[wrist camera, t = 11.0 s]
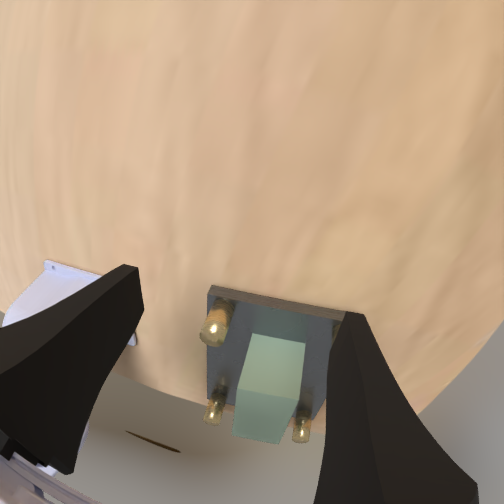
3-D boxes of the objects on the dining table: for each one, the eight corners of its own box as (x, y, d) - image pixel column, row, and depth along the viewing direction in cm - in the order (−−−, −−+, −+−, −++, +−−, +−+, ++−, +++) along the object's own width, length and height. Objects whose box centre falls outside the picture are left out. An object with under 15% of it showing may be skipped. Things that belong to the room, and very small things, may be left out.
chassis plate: (210, 391, 31) (199, 422, 27) (211, 284, 23) (193, 323, 19) (313, 412, 30) (310, 445, 26) (362, 314, 22) (365, 357, 18)
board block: (244, 389, 28) (231, 435, 23) (252, 333, 23) (237, 387, 19) (286, 397, 27) (278, 444, 23) (305, 343, 23) (298, 399, 19)
